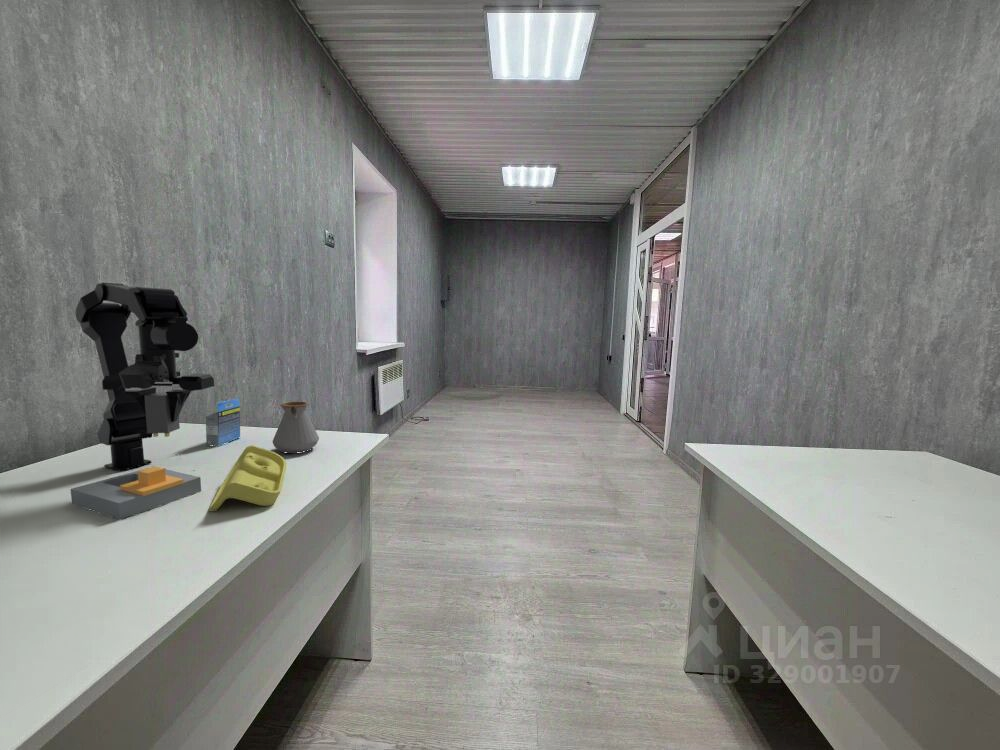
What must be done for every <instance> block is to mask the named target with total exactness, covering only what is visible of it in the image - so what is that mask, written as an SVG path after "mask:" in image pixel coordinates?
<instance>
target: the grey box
mask: <svg viewBox="0 0 1000 750" xmlns="http://www.w3.org/2000/svg"><path fill="white" fill-rule="evenodd" d="M166 392H167V391H165V392H161V391H159V392H157V391H156V393H153V394H149V395H145V396H144V397H145V410H146V423H147V433H153V434H152V438H157V437H159V434H164V438H168V437H170V435H171V433H172V432H174V431H176V430H179V429H181V428H180V415H179V416H178V418H177V421H175V422H172V421H171V416H170V398H169V396H168V395H167V393H166Z"/></svg>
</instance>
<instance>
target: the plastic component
mask: <svg viewBox="0 0 1000 750" xmlns="http://www.w3.org/2000/svg"><path fill="white" fill-rule="evenodd" d="M286 469H287V461H286V460H285V458H284V457H283V456H281V455H279V454H278V453H277V452H274V451H272V450H269V449H267V448H263V447H260V446H256V445H254V444H253V445H250V444H249V445H247V446H246V447H245V449H244V450H243V451H242V452H241V454H240V455H239V456H238V458H237V460H236V462H235V463H234V465H233V466H232V468H231V469H230V470H229V472H228V474H227V475H226V477H225V479H224V480H223V482H222V483H221V485H220V487H219V488H218V490H217V493H216V494H215V496H214V498H213V500H212V502H211V504H210V506H209V508H208V511H211V512H216V511H218V509H220V507H221V506H222V504H223V503H224V502H225V501H226V500H227V499H235V500H239V501H244V502H247V503H251V504H254V505H258V506H263V507H269V506H272V505H274V504H275V503H276V501H277V500H278V498H279V496H280V495H281V494H280V493H281V491H282V489H283V483H284V479H285V475H286Z"/></svg>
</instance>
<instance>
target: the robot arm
mask: <svg viewBox="0 0 1000 750" xmlns="http://www.w3.org/2000/svg"><path fill="white" fill-rule="evenodd" d="M104 301H105V302H104ZM106 301H107V302H106ZM131 313H132V314H134V315H135V317H137V319H138V320H136V322H135V326H136V327H138V338H139V339H138V340H139V351H140V353H137V354H135V358H134V364H130V365H129V363H128V359H127V356H126V352H125V347H124V344H123V338H122V336H123V334H124V332H125V331H126V328H127V327H128V322H127V321H128V319H129V317H130V316H131ZM187 315H188V312H187V311H186V309H185V308H184V306H183V304H182V303H181V301H180V299H179V297H178V295H176V293H175V291H174V290H173V289H171V288H158V287H157V288H156V287H143V286H133V287H132V286H128V285H127V284H124V283H118V282H117V283H115V282H114V283H113V282H101V283H97V284H96V286H95V288H94V289H93V290H91V292H88V293H87V294H85V295H83V296H82V297H80V299H79V301H78V303H77V306H76V308H75V319H76V320H77V322H78V323H79V324H80V327H81V329H82V332H83V333H84V334H85V335H86V336H87V337H89V338H90V339H91V340H93V342H94V344H95V347H96V351H97V355H98V360H99V363H100V368H101V372H102V375H103V379H102V380H101V389H102V390H103V391H106V392H107V396H108V399H109V400H108V401H109V402H108V404H107V406H106V407H105V410H104V411H103V414H102V415H103V421H102V423H101V424H100V427H99V429H98V432H97V437H98V438H97V439H98V442H99V443H100V444H102V445H105V446H110V456H111V462H110V463H107V464H104V468H107V469H111V470H116V471H118V472H119V471H120V472H121V471H122V472H123V471H125V470H129V469H134V468H136V467H137V468H138V467H141V466H145V465H149V464H152V460H149V459H145V458H144V457H145V456H144V444H143V440H144V439H150V438H153V433H147V423H146V410H145V397H144V396H145V395H149V394H153V393H157V387H171V388H172V390H171V389H170V390H168V391H165V392H166V393H167V395H168V396H169V398H170V416H171V421H172V422H175V421H177V418H178V416H179V417H180V414H181V412H182V410H183V407H184V405H185V402H186V401H187V399H188V397H189V396H190V395H191V393H192V392H193V391H202V390H205V389H210V388H213V387H215V378H214V376H212V374H210V373H192V374H187V375H186V374H185V375H182V376H181V371H179V370H178V371H177V363H176V361H177V360H176V358H177V359H178V358H180V353H179V352H187V351H190V350H192V349H193V348H195V346H196V345H197V344H198V341H199V333H198V332H197V330H196V329H195V327H194V326H192V325H191V324H189V323H187V322H188V319H189V318H188V316H187ZM176 351H178V352H176Z"/></svg>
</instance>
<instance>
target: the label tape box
mask: <svg viewBox="0 0 1000 750" xmlns="http://www.w3.org/2000/svg"><path fill="white" fill-rule="evenodd" d="M215 404H216V412H214V413H212V414H209V415H207V416H205V436H206V437H205V438H206V443H205V444H206V446H208V445H213V446H212V447H216V446H219V445H221V446H223V445H222V444H224V443H227V442H229V443H231V442H233V441H232V440H234V441H236V440H238V439H237V438H239V437H240V438H241V406H240V398H239V397H237V398H232V399H229V400H225V401H219V402H216V403H215ZM228 404H229V406H228ZM240 438H239V439H240ZM235 439H236V440H235ZM230 441H231V442H230ZM227 444H228V443H227ZM214 445H215V446H214ZM224 445H225V444H224ZM219 447H220V446H219Z"/></svg>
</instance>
